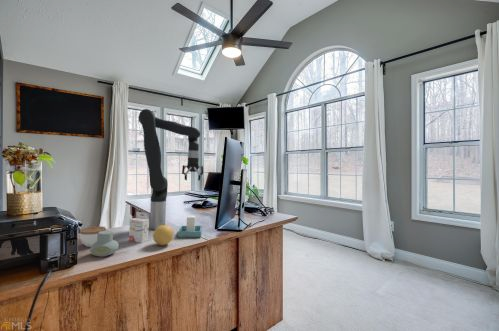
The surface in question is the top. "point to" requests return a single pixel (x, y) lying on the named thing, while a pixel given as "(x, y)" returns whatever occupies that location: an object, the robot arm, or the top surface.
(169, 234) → the stress ball
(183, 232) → the tray
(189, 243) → the top surface
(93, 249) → the air freshener
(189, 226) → the stop block
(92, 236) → the lidded jar
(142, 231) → the ink cartridge box
